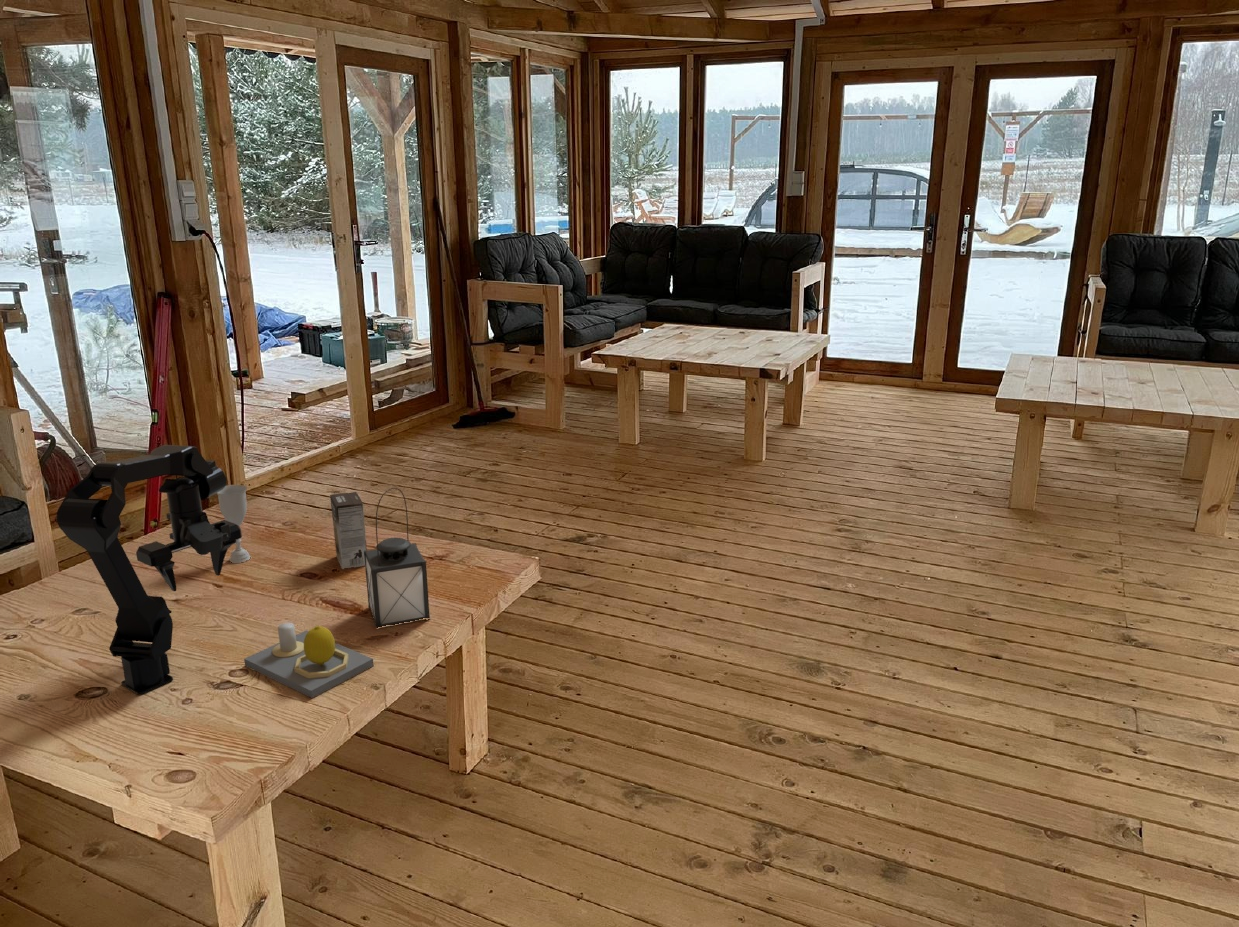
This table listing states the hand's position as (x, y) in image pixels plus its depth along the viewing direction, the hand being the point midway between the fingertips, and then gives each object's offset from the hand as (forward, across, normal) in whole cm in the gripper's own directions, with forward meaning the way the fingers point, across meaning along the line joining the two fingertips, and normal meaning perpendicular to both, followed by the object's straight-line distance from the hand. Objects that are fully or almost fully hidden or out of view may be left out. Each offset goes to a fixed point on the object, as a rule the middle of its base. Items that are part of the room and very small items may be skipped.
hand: (196, 582), depth 181 cm
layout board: (+12, +5, -27) cm, 30 cm away
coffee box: (+12, +43, +7) cm, 45 cm away
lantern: (+12, +30, -24) cm, 40 cm away
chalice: (+12, +28, +30) cm, 43 cm away
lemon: (+11, +5, -31) cm, 33 cm away
